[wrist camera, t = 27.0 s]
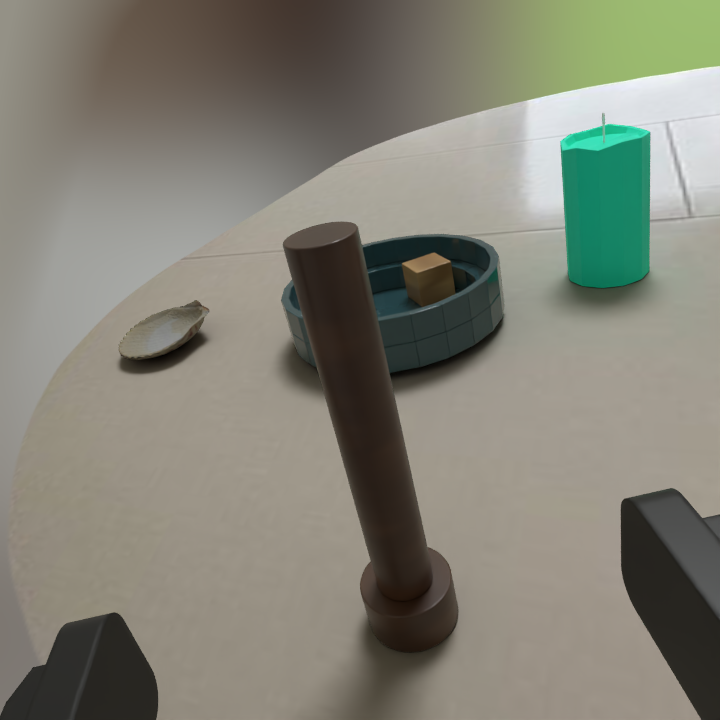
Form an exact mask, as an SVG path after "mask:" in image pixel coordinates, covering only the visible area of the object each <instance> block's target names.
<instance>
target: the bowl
mask: <svg viewBox="0 0 720 720" xmlns="http://www.w3.org/2000/svg"><path fill="white" fill-rule="evenodd" d="M362 248H363V253H364V257H365V262H366V267H367V271H368V276H369V281H370V285H371V290H372V294H373V299H374V304H375V308H376V313H377V317H378V322H379V327H380V331H381V336H382V341H383V345H384V350H385V354H386V359H387V364H388V368H389V373H392V372H397V371H402V370H408V369H413V368H418V367H423V366H426V365H429V364H432V363H435V362H438V361H441V360H444V359H447V358H450V357H452V356H454V355H456V354H458V353H460V352H462V351H464V350H466V349H468V348H470V347H472V346H474V345H475V344H477V343H478V342H479V341H481V340H482V339H483V338H484V337H486V336H487V335H488V334H490V333H491V332H492V331H493V330H494V329H495V327H496V326H497V324H498V323H499V321H500V320H501V319H502V317H503V310H504V298H503V289H502V279H501V270H500V261H499V256H498V254H497V253H496V251H495V249H494V248H493V247H492V246H491V245H489V244H487V243H485V242H483V241H482V240H479V239H475V238H471V237H467V236H460V235H448V234H429V235H414V236H406V237H398V238H392V239H387V240H382V241H377V242H372V243H369V244H365V245H362ZM431 253H436V254H438V255H440V256H442V257H444V258H445V259H447V260H449V261H451V266H452V273H453V279H454V286H455V293H456V294H454V295H452V296H450V297H448V298H446V299H443V300H441V301H439V302H437V303H434V304H431V305H427V306H424V307H422V306H420V305H419V304H417V303H416V302H415V301H413V300H412V299H411V298H409V297H408V295H407V289H406V284H405V279H404V273H403V268H402V263H404V262H407V261H410V260H413V259H416V258H419V257H422V256H425V255H428V254H431ZM281 302H282V305H283V308H284V312H285V315H286V319H287V322H288V325H289V329H290V332H291V336H292V339H293V343H294V346H295V348H296V350H297V352H298V355H299V356H300V357H301V358H302V359H304V360H305V361H306V362H308V363H309V364H311V365H312V366H315V367H317V366H316V363H315V359H314V355H313V352H312V348H311V345H310V341H309V338H308V334H307V330H306V327H305V323H304V320H303V316H302V312H301V309H300V305H299V302H298V298H297V295H296V291H295V287H294V284H293V280H291V281H290V283H289V284H288V285H287V286H286V287H285V289H284V291H283V295H282V299H281Z"/></svg>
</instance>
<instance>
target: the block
mask: <svg viewBox="0 0 720 720" xmlns="http://www.w3.org/2000/svg"><path fill="white" fill-rule="evenodd" d="M402 268H403V273H404V279H405V284H406V289H407V295H408V297H409V298H411V299H412V300H413V301H415V302H416V303H417V304H419V305H420V306H422V307H424V306H427V305H431V304H434V303H437V302H439V301H441V300H443V299H446V298H448V297H450V296H452V295H454V294H456V293H455V286H454V279H453V273H452V266H451V261H449V260H447V259H445V258H444V257H442V256H440V255H438V254H436V253H431V254H428V255H425V256H422V257H419V258H416V259H413V260H410V261H407V262H404V263H402Z"/></svg>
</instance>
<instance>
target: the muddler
mask: <svg viewBox="0 0 720 720" xmlns="http://www.w3.org/2000/svg"><path fill="white" fill-rule="evenodd" d="M283 248H284V251H285V255H286V259H287V262H288V266H289V269H290V273H291V277H292V280H293V284H294V287H295V291H296V295H297V298H298V302H299V305H300V309H301V312H302V316H303V320H304V323H305V327H306V330H307V334H308V338H309V341H310V345H311V348H312V352H313V355H314V359H315V363H316V366H317V370H318V373H319V377H320V381H321V384H322V388H323V391H324V395H325V399H326V402H327V406H328V409H329V413H330V416H331V420H332V424H333V427H334V431H335V434H336V438H337V442H338V445H339V449H340V452H341V456H342V460H343V463H344V467H345V470H346V474H347V477H348V481H349V485H350V488H351V492H352V495H353V499H354V503H355V506H356V510H357V513H358V517H359V520H360V524H361V528H362V531H363V535H364V538H365V542H366V546H367V549H368V553H369V556H370V560H371V562H370V563H369V564H368V565H367V567H366V568H365V570H364V572H363V574H362V578H361V582H360V590H361V595H362V598H363V602H364V605H365V608H366V612H367V615H368V619H369V622H370V625H371V628H372V631H373V633H374V634H375V636H376V637H377V638H378V639H379V640H380V641H381V642H382V643H383V644H385V645H386V646H388V647H390V648H392V649H394V650H397V651H402V652H418V651H423V650H426V649H429V648H432V647H434V646H435V645H437V644H439V643H440V642H442V641H443V640H444V639H445V638H446V637H447V636H448V635H449V634H450V633H451V631H452V629H453V628H454V626H455V623H456V621H457V617H458V605H457V599H456V594H455V589H454V584H453V579H452V574H451V569H450V567H449V564H448V563H447V561H446V560H445V558H444V557H443V556H442V555H441V554H439V553H438V552H437V551H435V550H433V549H431V548H429V547H427V543H426V539H425V534H424V530H423V525H422V520H421V516H420V511H419V507H418V502H417V497H416V493H415V488H414V484H413V479H412V474H411V470H410V465H409V460H408V456H407V451H406V447H405V442H404V437H403V433H402V428H401V424H400V419H399V414H398V410H397V405H396V400H395V396H394V391H393V387H392V382H391V377H390V373H389V368H388V364H387V359H386V354H385V350H384V345H383V341H382V336H381V331H380V327H379V322H378V317H377V313H376V308H375V304H374V299H373V294H372V290H371V285H370V281H369V276H368V271H367V267H366V262H365V257H364V253H363V248H362V244H361V239H360V234H359V230H358V227H357V225H356V224H354V223H351V222H331V223H325V224H320V225H316V226H312V227H309V228H306V229H303V230H301V231H298V232H296V233H294V234H292V235H291V236H289V237H288V238H287V239H285V241H284V242H283Z"/></svg>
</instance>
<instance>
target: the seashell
mask: <svg viewBox="0 0 720 720" xmlns="http://www.w3.org/2000/svg"><path fill="white" fill-rule="evenodd" d="M208 313H209V309H208V308H206V307H204V306H202V305H201V304H200V302H199V301H197V300H195V301H194V302H192V303H189V304H187V305H185V306H182V307H176V308H172V309H168V310H165V311H162V312H159V313H157V314H154V315H151V316H150V317H148V318H146V319H145V320H143V321H140V322H139V324H137V325H135V326H134V328H131V329H130V331H129V332H127V333H126V336H124V337H123V340H121V342H120V344H119V352H120V354H121V356H123V357H124V358H125V359H130V360H136V359H137V360H141V359H146V358H153V357H157V356H160V355H164V354H167V353H169V352H171V351H173V350H175V349H177V348H179V347H180V346H182V345H183V344H185V343H186V342H187V341H188V340H190V339H191V338H192V337H193V336H194V335H195V334H196V332H197V331H198V330H199V328H200V327H201V325H202V323H203V321H204V317H205V316H206V315H207V314H208Z"/></svg>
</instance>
